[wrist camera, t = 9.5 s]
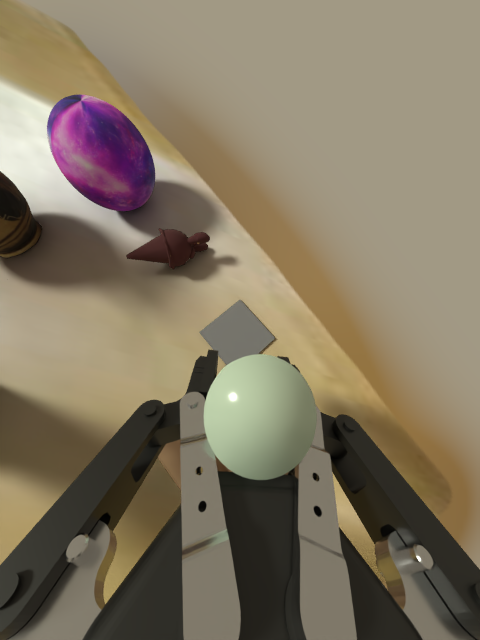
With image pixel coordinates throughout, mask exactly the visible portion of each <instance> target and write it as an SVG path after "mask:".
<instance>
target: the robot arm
mask: <svg viewBox="0 0 480 640" xmlns="http://www.w3.org/2000/svg"><path fill="white" fill-rule="evenodd" d="M278 358H280V359H282V360H284V361H286V362H288V363H289V364H290V361H289V358H288V357H280V356H278ZM217 365H218V351H217V350H208V354H207V357H204V356H200V357H199V358H198V359H197V360H196V362H195V366H194V369H193V373H192V376H191V379H190V382H189V386H188V389H187V392H186V394H185V395H184V396H183V397H182V398H181V399H180V400H178V401H176V402H173V403H168V404H163V403H162V402H161V401H159V400H150V401H147V402H145V403H143V404H142V405H141V406H140V407H139V408H138V409H137V410H136V411H135V412H134V414H133V415H132V416H131V417H130V418H129V419H128V420H127V421H126V423H125V424H124V425H123V426H122V427H121V428H120V429H119V431H118V432H117V433H116V434H115V435H114V436H113V437H112V439H111V440H110V441H109V442H108V443H107V444H106V445H105V447H104V448H103V449H102V450H101V451H100V452H99V453H98V455H97V456H96V457H95V458H94V459H93V460H92V461H91V463H90V464H89V465H88V466H87V467H86V468H85V469H84V470H83V472H82V473H81V474H80V475H79V476H78V477H77V478H76V480H75V481H74V482H73V483H72V484H71V485H70V486H69V488H68V489H67V490H66V491H65V492H64V493H63V494H62V496H61V497H60V498H59V499H58V500H57V501H56V502H55V504H54V505H53V506H52V507H51V508H50V509H49V510H48V512H47V513H46V514H45V515H44V516H43V517H42V518H41V519H40V521H39V522H38V523H37V524H36V525H35V526H34V527H33V529H32V530H31V531H30V532H29V533H28V534H27V535H26V537H25V538H24V539H23V540H22V541H21V542H20V543H19V545H18V546H17V547H16V548H15V549H14V550H13V551H12V553H11V554H10V555H9V556H8V557H7V558H6V559H5V561H4V562H3V563H2V564H1V565H0V640H480V570H479V568H478V567H477V566H476V565H475V564H474V563H473V561H472V560H471V559H470V558H469V556H468V555H467V554H466V553H465V552H464V551H463V549H462V548H461V547H460V546H459V544H458V543H457V542H456V541H455V540H454V538H453V537H452V536H451V535H450V533H449V532H448V531H447V530H446V529H445V527H443V525H442V524H441V523H440V521H439V520H438V519H437V518H436V517H435V515H434V514H433V513H432V512H431V511H430V509H429V508H428V507H427V506H426V505H425V503H424V502H423V501H422V500H421V499H420V497H419V496H418V495H417V494H416V493H415V491H414V490H413V489H412V488H411V486H410V485H409V484H408V483H407V482H406V480H405V479H404V478H403V477H402V476H401V474H400V473H399V472H398V471H397V470H396V468H395V467H394V466H393V465H392V464H391V462H390V461H389V460H388V459H387V458H386V456H385V455H384V454H383V453H382V452H381V450H380V449H379V448H378V447H377V446H376V444H375V443H374V442H373V441H372V440H371V438H370V437H369V436H368V435H367V434H366V432H365V431H364V430H363V429H362V427H361V426H360V425H359V424H358V423H357V422H356V421H355V420H354V419H353V418H351V417H349V416H347V415H342V414H341V415H338V416H337V417H336V418H334V417H331V416H329V415H326V414H324V413H322V412H320V410H319V409H318V407H317V406H316V413H317V423H316V431H315V435H314V439H313V442H312V444H311V446H310V448H309V450H308V452H307V454H306V455H305V457H304V458H303V459H302V460H301V462H300V463H299V464H298V465H297V466H296V467H295V468H293V469H292V470H290V471H289V472H287V473H286V474H284V475H282V476H279V477H276V478H273V479H268V480H254V479H248V478H245V477H242V476H240V475H238V474H236V473H234V472H224V471H217V465H216V459H215V454H214V452H213V450H212V449H211V446H210V444H209V442H208V439H207V436H206V432H205V427H204V406H205V401H206V397H207V394H208V391H209V389H210V387H211V385H212V383H213V381H214V380H215V378H216V374H217ZM292 366H293V367H294V368H296V369H297V370H298V368H297V367H296V366H295V365H292ZM298 371H299V370H298ZM299 372H300V371H299ZM180 439H181V442H180V461H181V504H180V506H179V507H178V508H177V510H176V511H175V512H174V514H173V515H172V516H171V518H170V519H169V520H168V522H167V523H166V524H165V526H164V527H163V528H162V530H161V531H160V532H159V534H158V535H157V536H156V538H155V539H154V540H153V542H152V543H151V544H150V546H149V547H148V548H147V550H146V551H145V552H144V554H143V555H142V556H141V558H140V559H139V560H138V562H137V563H136V564H135V566H134V567H133V568H132V570H131V571H130V572H129V574H128V575H127V576H126V578H125V579H124V581H123V582H122V583H121V585H120V586H119V587H118V589H117V590H116V591H115V593H114V594H113V595H112V597H111V598H110V599H109V601H108V602H107V603H106V605H105V602H104V597H103V588H104V582H105V578H106V575H107V572H108V570H109V567H110V565H111V563H112V561H113V558H114V555H115V552H116V546H117V541H116V536H115V534H114V532H113V530H114V528H115V526H116V525H117V523H118V522H119V520H120V518H121V517H122V515H123V513H124V512H125V510H126V508H127V507H128V505H129V504H130V502H131V500H132V499H133V497H134V495H135V494H136V492H137V490H138V489H139V487H140V486H141V484H142V482H143V481H144V479H145V477H146V476H147V474H148V472H149V471H150V469H151V468H152V466H153V464H154V463H155V461H156V459H157V458H158V456H159V454H160V453H161V451H162V450H163V448H164V446H165V445H166V444H167V443H170V442H174V441H177V440H180ZM332 472H333V474H334V475H335V477H336V479H337V481H338V482H339V484H340V486H341V487H342V489H343V491H344V492H345V494H346V496H347V498H348V499H349V501H350V503H351V504H352V506H353V508H354V510H355V511H356V513H357V515H358V516H359V518H360V520H361V522H362V523H363V525H364V527H365V528H366V530H367V532H368V534H369V535H370V537H371V539H372V540H373V542H374V544H375V555H376V564H377V567H378V570H379V571H380V573H381V574H382V576H383V577H384V578H385V581H386V584H387V587H388V590H387V589H386V588H385V586H384V585H383V584H382V582H381V581H380V580H379V578H378V577H377V576H376V575H375V573H374V572H373V571H372V569H371V568H370V567H369V565H368V564H367V563H366V561H365V560H364V559H363V558H362V556H361V555H360V554H359V552H358V551H357V550H356V548H355V547H354V546H353V545H352V543H351V542H350V541H349V539H348V538H347V537H346V535H345V534H344V533H343V531H342V530H341V529H340V528H339V525H338V517H337V509H336V500H335V492H334V484H333V475H332Z"/></svg>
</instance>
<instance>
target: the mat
mask: <svg viewBox="0 0 480 640" xmlns="http://www.w3.org/2000/svg"><path fill="white" fill-rule="evenodd" d="M199 333H200V334H201V335H202V336H203V338H204V339H205V340H206V341H207V342H208V344H209V345H210V346H211V347H212V348H213V350H217V351H218V355H219V357H220V358H221V359H222V360H223V361H224V363H225V364H226V365H227V364H229V363H231V362H233V361H235V360H237V359H240V358H242V357H245V356H249V355H255V354H259V353H260V352H261V351H262V350H263V349H264V348H265V347H266V346H267V345H268V344H269V343H270V342H272V341H273V340H274V339H275V337H274V336H273V335H272V334H271V333H270V332H269V331H268V330H267V329H266V327H265V326H264V325H263V324H262V323H261V322H260V321H259V320H258V319H257V318H256V316H255V315H254V314H253V313H252V312H251V311H250V310H249V309H248V308H247V307H246V305H245V304H244V303H243V302H242V301H241V300H239V301H238V302H236V303H235V304H234V305H233V306H231V307H230V308H229V309H228V310H226V311H225V312H224V313H223V314H221V315H220V316H219V317H218V318H217V319H215V320H214V321H213V322H212V323H210V324H209V325H208V326H207V327H205V328H204V329H203V330H202V331H200V332H199Z"/></svg>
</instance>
